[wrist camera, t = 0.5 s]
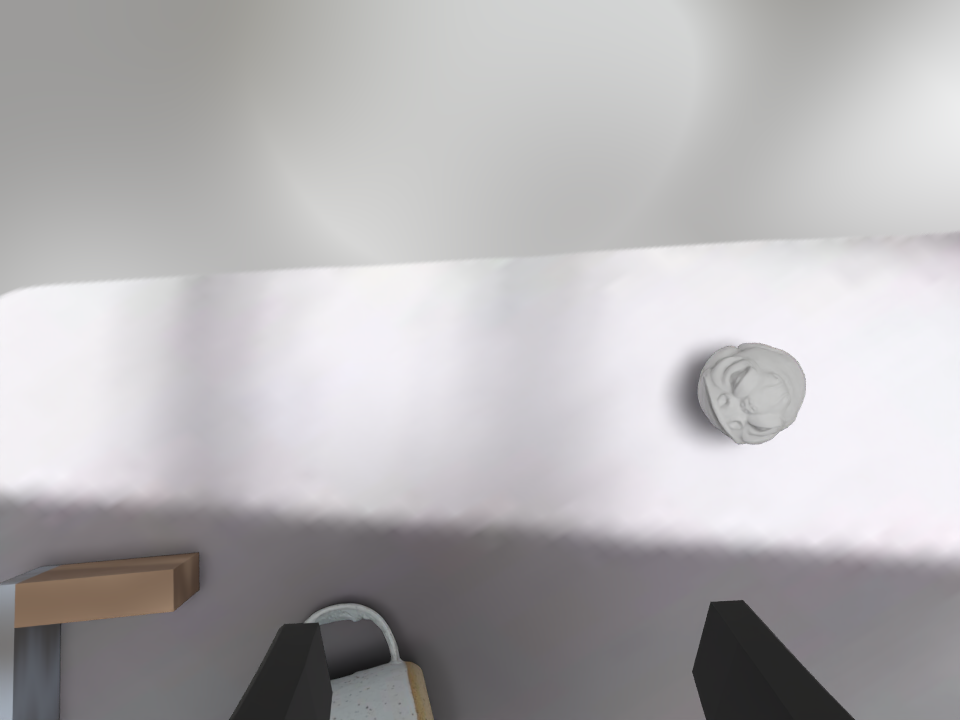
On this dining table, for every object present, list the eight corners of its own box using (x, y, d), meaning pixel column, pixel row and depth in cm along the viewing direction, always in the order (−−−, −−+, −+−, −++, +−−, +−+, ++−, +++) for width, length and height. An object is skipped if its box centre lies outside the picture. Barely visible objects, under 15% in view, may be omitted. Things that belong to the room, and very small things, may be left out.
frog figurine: (649, 377, 38) (706, 366, 31) (736, 332, 40) (809, 312, 33) (692, 462, 38) (758, 469, 31) (778, 414, 39) (860, 411, 33)
